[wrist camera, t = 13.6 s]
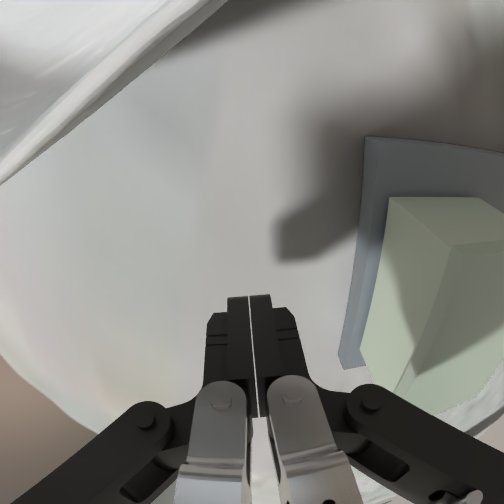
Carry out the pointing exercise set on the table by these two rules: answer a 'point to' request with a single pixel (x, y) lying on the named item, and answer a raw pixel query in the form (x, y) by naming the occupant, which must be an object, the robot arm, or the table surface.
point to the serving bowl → (77, 62)
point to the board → (408, 185)
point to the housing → (437, 301)
